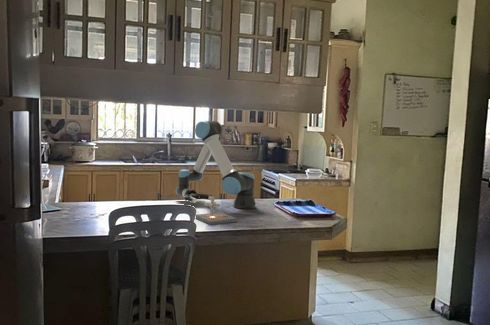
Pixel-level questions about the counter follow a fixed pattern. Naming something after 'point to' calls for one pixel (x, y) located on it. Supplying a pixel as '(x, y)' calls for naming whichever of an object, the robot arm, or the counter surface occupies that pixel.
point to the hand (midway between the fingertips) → (204, 200)
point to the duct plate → (215, 218)
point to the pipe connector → (212, 204)
